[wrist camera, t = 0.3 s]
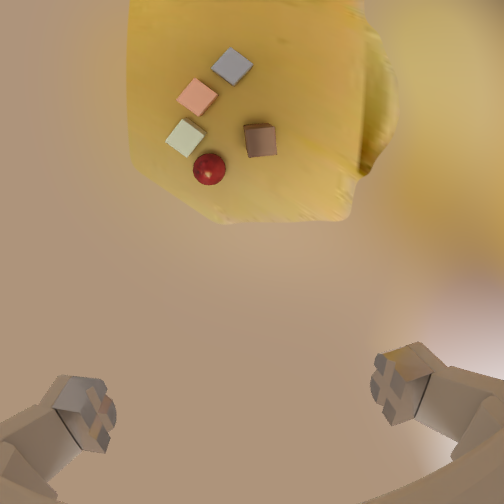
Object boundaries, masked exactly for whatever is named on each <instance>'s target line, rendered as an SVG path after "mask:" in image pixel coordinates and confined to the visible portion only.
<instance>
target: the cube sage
mask: <svg viewBox="0 0 504 504" xmlns="http://www.w3.org/2000/svg"><path fill="white" fill-rule="evenodd" d="M206 134H207V132H205V131H204V130H203V129H201V128H200V127H199V126H197V125H196V124H195V123H193V122H192V121H191V120H189V119H188V118H184V119H182V120H181V121H180V122H179V124H178V125H177V126H176V128H175V129H174V130H173V131H172V133H171V134H170V135H169V137H168V138H167V139H166V141H165V142H166V143H167V144H169V145H170V146H172V147H173V148H174V149H176V150H177V151H178V152H180V153H181V154H182V155H184V156H185V157H186V158H187V157H188V156H189V155H190V154H191V153H192V151H193V150H194V149H195V148H196V146H197V145H198V144H199V143H200V141H201V140H202V139H203V138H204V136H205V135H206Z"/></svg>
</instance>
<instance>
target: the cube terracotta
mask: <svg viewBox="0 0 504 504" xmlns="http://www.w3.org/2000/svg"><path fill="white" fill-rule="evenodd" d="M218 96H219V95H218V94H217V93H215V92H214V91H213V90H211V89H210V88H208V87H207V86H206V85H204V84H203V83H202V82H200V81H199V80H197V79H196V78H194V79H193V80H192V81H191V82H190V84H189V85H188V86H187V87H186V88H185V90H184V91H183V92H182V93H181V94H180V96H179V97H178V98H177V99H176V101H178V102H179V103H181V104H182V105H183V106H185V107H186V108H188V109H189V110H190V111H192V112H193V113H194V114H196V115H197V116H198V117H199V116H202V115H203V113H204V112H205V111H206V110H207V109H208V107H209V106H210V105H211V104H212V103H213V102H214V100H215V99H216V98H217V97H218Z"/></svg>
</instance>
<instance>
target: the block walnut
mask: <svg viewBox="0 0 504 504" xmlns="http://www.w3.org/2000/svg"><path fill="white" fill-rule="evenodd" d="M244 132H245V141H246V149H247V153H248V157H249V158H251V157H260V156H270V155H277V147H276V136H275V127H274V126H272V125H270V124H269V123H262V124H252V125H244Z"/></svg>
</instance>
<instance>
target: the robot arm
mask: <svg viewBox="0 0 504 504" xmlns="http://www.w3.org/2000/svg"><path fill="white" fill-rule="evenodd" d="M374 365H375V367H376V368H377V370H376V371H375V372H374V374H373V375H372V377H371V382H370V387H371V393H372V396H373V398H374V400H375V402H376V403H377V404H379V405H382V406H384V407H383V411H382V413H383V414H384V416H385V417H386V419H387V421H388V422H389V424H390V425H391V426H394V425H397V424H400V423H403V422H405V421H408V420H411V419H414V418H415V420H416V421H418V422H420V423H422V424H424V425H426V426H427V427H429V428H431V429H433V430H435V431H437V432H439V433H441V434H443V435H445V436H447V437H449V438H451V439H452V440H454V441H456V442H458V444H457V445H456V447H455V448H454V450H453V452H452V453H451V458H452V460H453V462H451V463H449V464H448V465H446V466H444V467H442V468H440V469H438V470H437V471H435V472H433V473H431V474H429V475H427V476H425V477H423V478H421V479H419V480H417V481H415V482H412V483H410V484H408V485H406V486H404V487H401V488H399V489H397V490H394V491H392V492H389V493H387V494H384V495H381V496H379V497H376V498H373V499H370V500H368V501H365V502H362V503H359V504H504V380H500V379H497V378H493V377H489V376H486V375H482V374H478V373H475V372H471V371H467V370H464V369H460V368H457V367H453V366H450V367H447V366H446V365H445V364H444V363H443V362H442V361H441V360H440V359H438V358H437V357H436V356H435V355H434V354H433V353H432V352H431V351H430V350H429V349H428V348H427V347H426V346H424V345H423V344H422V343H420V342H416V343H412V344H409V345H406V346H404V347H400V348H397V349H393V350H390V351H386V352H383V353H378V354H377V356H376V358H375V362H374ZM106 392H107V387H106V385H105V383H104V381H103V380H101V379H96V378H87V377H77V376H68V375H60V376H58V377H57V378H56V380H55V381H54V382H53V384H52V385H51V387H50V388H49V390H48V391H47V393H46V394H45V396H44V397H43V399H42V400H41V402H40V403H39V405H33V406H32V407H30V408H27V409H26V410H24V411H22V412H20V413H18V414H16V415H14V416H13V417H11V418H9V419H7V420H5V421H3V422H1V423H0V504H66V503H63V502H60V501H57V500H56V499H57V493H56V491H55V490H54V489H53V488H52V487H51V486H50V485H49V484H48V483H47V482H48V481H49V480H50V479H52V478H53V477H54V476H55V475H56V474H57V473H58V472H60V470H62V469H63V468H64V467H65V466H66V465H67V464H68V463H69V462H71V461H72V460H73V459H74V458H75V457H76V456H77V455H78V454H80V453H81V452H82V450H85V451H91V452H97V453H106V450H107V447H108V444H109V441H110V436H109V434H108V432H109V431H110V430H112V429H113V428H114V426H115V423H116V408H115V405H114V403H113V401H112V399H110V398H109V397H108V396H107V395H106Z"/></svg>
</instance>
